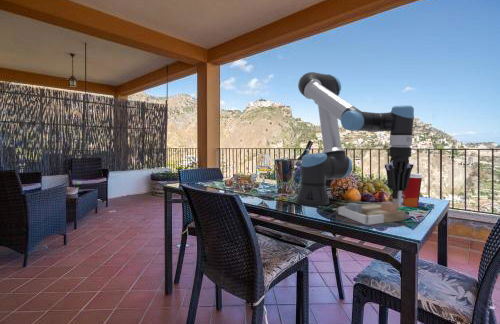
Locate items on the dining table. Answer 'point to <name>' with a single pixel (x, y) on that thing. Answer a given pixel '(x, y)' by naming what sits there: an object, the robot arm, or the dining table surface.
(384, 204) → the tan block
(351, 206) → the tile grey
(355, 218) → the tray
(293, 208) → the dining table surface
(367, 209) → the board
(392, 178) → the robot arm
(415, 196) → the coffee cup
